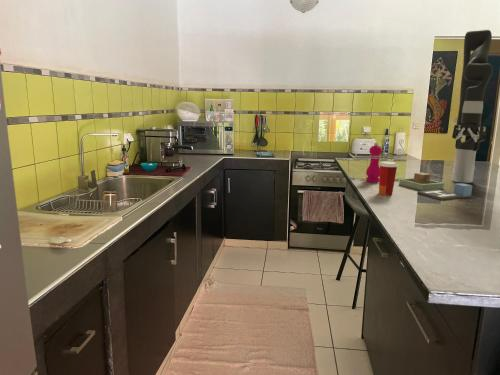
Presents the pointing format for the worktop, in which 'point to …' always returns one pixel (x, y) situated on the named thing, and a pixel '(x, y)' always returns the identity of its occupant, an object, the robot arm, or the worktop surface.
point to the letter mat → (440, 194)
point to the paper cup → (387, 177)
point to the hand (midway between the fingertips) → (466, 149)
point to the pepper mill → (374, 164)
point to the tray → (421, 185)
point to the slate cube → (463, 189)
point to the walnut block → (422, 178)
